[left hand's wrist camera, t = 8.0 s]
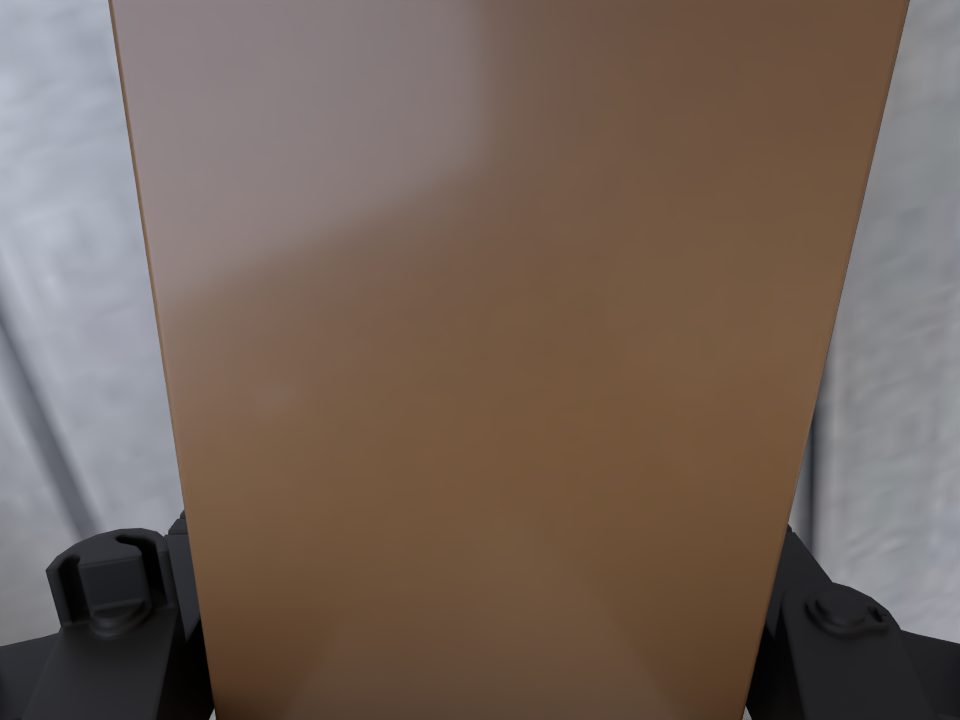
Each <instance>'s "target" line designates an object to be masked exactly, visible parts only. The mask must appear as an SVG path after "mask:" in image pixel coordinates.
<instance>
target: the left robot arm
mask: <svg viewBox="0 0 960 720" xmlns="http://www.w3.org/2000/svg"><path fill="white" fill-rule="evenodd" d="M46 574H47V577H48V581H49V585H50V588H51V592H52V595H53V599H54V603H55V606H56V610H57V613H58V617H59V621H60V624H61V628H60V630H59V633H56V634H53V635H49V636H46V637H42V638H37V639H33V640H28V641H24V642H19V643H14V644H10V645H5V646H1V647H0V720H209V719H210V716H211V714H212V712H213V710H214V702H213V695H212V688H211V682H210V675H209V668H208V662H207V655H206V648H205V642H204V635H203V628H202V622H201V615H200V608H199V602H198V595H197V588H196V582H195V575H194V568H193V562H192V555H191V548H190V542H189V535H188V528H187V522H186V515H185V509H184V511H183V512H182V513H181V515H180V519H177V520H176V521H175V523H174V524H173V525H172V527H171V528H170V529H169V531H168V535H165V536H164V537H163V536H162V535H161V534H159V533H158V532H156V531H152V530H147V529H143V528H133V529H119V530H114V531H110V532H106V533H102V534H98V535H95V536H93V537H91V538H88V539H86V540H84V541H81V542H79V543H77V544H75V545H73V546H72V547H70V548H69V549H67V550H66V551H64V552H63V553H61V554H60V555H58V556H57V557H56V558H55V559H54V561H53V562H52V563H51V564H50V565H49V567H48V568H47V569H46ZM746 707H747V709H748V712H749V714H750V716H751V718H752V720H960V644H959V643H954V642H949V641H945V640H940V639H936V638H931V637H927V636H922V635H918V634H914V633H910V632H907V631H903V630H901V629H900V627H899V625H898V624H897V622H896V621H895V619H894V618H893V617H892V615H891V614H890V612H889V611H888V610H887V609H885V608H884V607H883V606H882V605H880V604H879V603H878V602H876V601H875V600H874V599H873V598H871V597H869V596H867V595H865V594H863V593H861V592H859V591H857V590H855V589H853V588H851V587H848V586H844V585H841V584H837V583H833V582H832V581H831V580H830V578H829V577H828V576H827V574H826V573H825V572H824V570H823V569H822V568H821V566H820V565H819V564H818V562H817V561H816V560H815V559H814V557H813V556H812V555H811V553H810V552H809V551H808V549H807V548H806V547H805V545H804V544H803V543H802V541H801V540H800V539H799V537H798V536H797V535H796V533H795V532H792V528H791V527H790V526H789V524H788V525H787V529H786V534H785V538H784V542H783V547H782V551H781V555H780V560H779V564H778V568H777V572H776V577H775V581H774V585H773V590H772V594H771V598H770V603H769V607H768V611H767V615H766V620H765V624H764V628H763V633H762V637H761V641H760V645H759V650H758V654H757V658H756V663H755V667H754V671H753V676H752V680H751V684H750V688H749V693H748V697H747V701H746Z"/></svg>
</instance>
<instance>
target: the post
mask: <svg viewBox="0 0 960 720" xmlns="http://www.w3.org/2000/svg"><path fill="white" fill-rule="evenodd" d="M909 1H910V0H108V2H109V8H110V15H111V22H112V28H113V35H114V42H115V48H116V55H117V62H118V68H119V75H120V82H121V88H122V95H123V102H124V108H125V115H126V122H127V128H128V135H129V142H130V148H131V155H132V162H133V168H134V175H135V182H136V188H137V195H138V202H139V208H140V215H141V222H142V228H143V235H144V242H145V248H146V255H147V262H148V268H149V275H150V282H151V288H152V295H153V302H154V308H155V315H156V322H157V328H158V335H159V342H160V348H161V355H162V362H163V368H164V375H165V382H166V388H167V395H168V402H169V408H170V415H171V422H172V428H173V435H174V442H175V448H176V455H177V462H178V468H179V475H180V482H181V488H182V495H183V502H184V508H185V515H186V522H187V528H188V535H189V542H190V548H191V555H192V562H193V568H194V575H195V582H196V588H197V595H198V602H199V608H200V615H201V622H202V628H203V635H204V642H205V648H206V655H207V662H208V668H209V675H210V682H211V688H212V695H213V702H214V708H215V715H216V720H742V719H743V714H744V710H745V706H746V701H747V697H748V693H749V688H750V684H751V680H752V676H753V671H754V667H755V663H756V658H757V654H758V650H759V645H760V641H761V637H762V633H763V628H764V624H765V620H766V615H767V611H768V607H769V603H770V598H771V594H772V590H773V585H774V581H775V577H776V572H777V568H778V564H779V560H780V555H781V551H782V547H783V542H784V538H785V534H786V529H787V525H788V521H789V517H790V512H791V508H792V504H793V499H794V495H795V491H796V487H797V482H798V478H799V474H800V469H801V465H802V461H803V456H804V452H805V448H806V444H807V439H808V435H809V431H810V426H811V422H812V418H813V413H814V409H815V405H816V401H817V396H818V392H819V388H820V383H821V379H822V375H823V371H824V366H825V362H826V358H827V353H828V349H829V345H830V340H831V336H832V332H833V328H834V323H835V319H836V315H837V310H838V306H839V302H840V297H841V293H842V289H843V285H844V280H845V276H846V272H847V267H848V263H849V259H850V255H851V250H852V246H853V242H854V237H855V233H856V229H857V224H858V220H859V216H860V212H861V207H862V203H863V199H864V194H865V190H866V186H867V182H868V177H869V173H870V169H871V164H872V160H873V156H874V151H875V147H876V143H877V139H878V134H879V130H880V126H881V121H882V117H883V113H884V108H885V104H886V100H887V96H888V91H889V87H890V83H891V78H892V74H893V70H894V66H895V61H896V57H897V53H898V48H899V44H900V40H901V35H902V31H903V27H904V23H905V18H906V14H907V10H908V5H909Z"/></svg>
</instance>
